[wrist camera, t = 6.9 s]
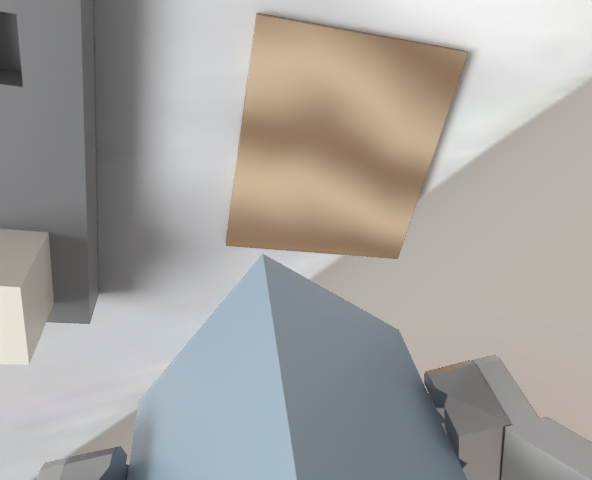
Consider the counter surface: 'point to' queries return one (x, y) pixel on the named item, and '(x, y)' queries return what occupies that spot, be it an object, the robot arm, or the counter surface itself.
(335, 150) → the oak pad
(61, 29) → the power strip
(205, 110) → the counter surface
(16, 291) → the plug
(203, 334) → the light blue block
